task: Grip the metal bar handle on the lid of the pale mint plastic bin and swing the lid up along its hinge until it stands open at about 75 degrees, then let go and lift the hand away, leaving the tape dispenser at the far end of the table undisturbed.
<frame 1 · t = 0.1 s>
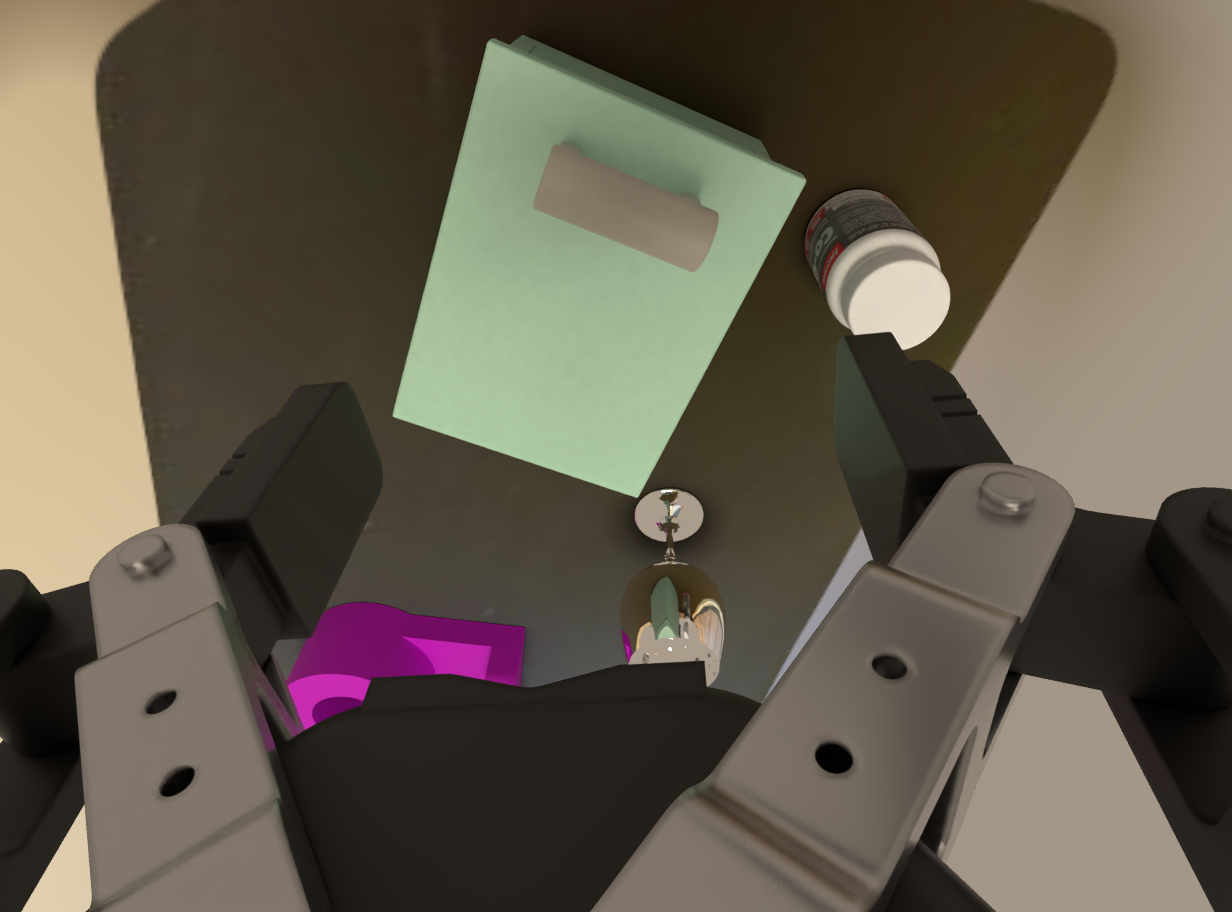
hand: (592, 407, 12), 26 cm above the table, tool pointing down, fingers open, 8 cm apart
pill bottle: (850, 234, 37), on the table
tape dispenser: (418, 650, 56), on the table
bin lid: (572, 333, 27), point 11 cm above the table, hinge at 0.0°
wineglass: (668, 513, 48), on the table
bin: (589, 238, 37), on the table
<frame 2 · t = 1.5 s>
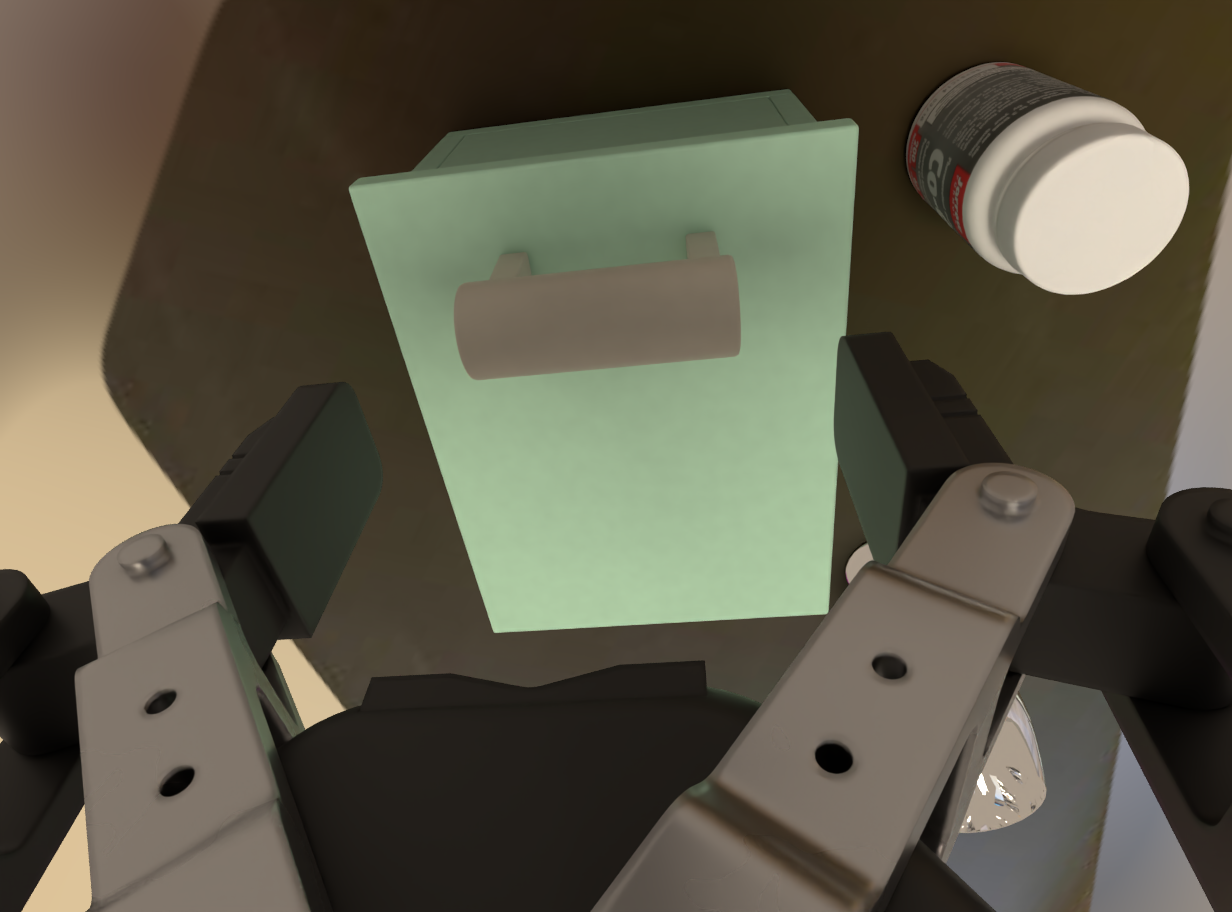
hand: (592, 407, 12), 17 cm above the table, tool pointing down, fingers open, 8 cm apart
pill bottle: (973, 137, 25), on the table
bin lid: (631, 480, 19), point 12 cm above the table, hinge at 0.0°
wineglass: (889, 564, 37), on the table
bin: (637, 310, 29), on the table
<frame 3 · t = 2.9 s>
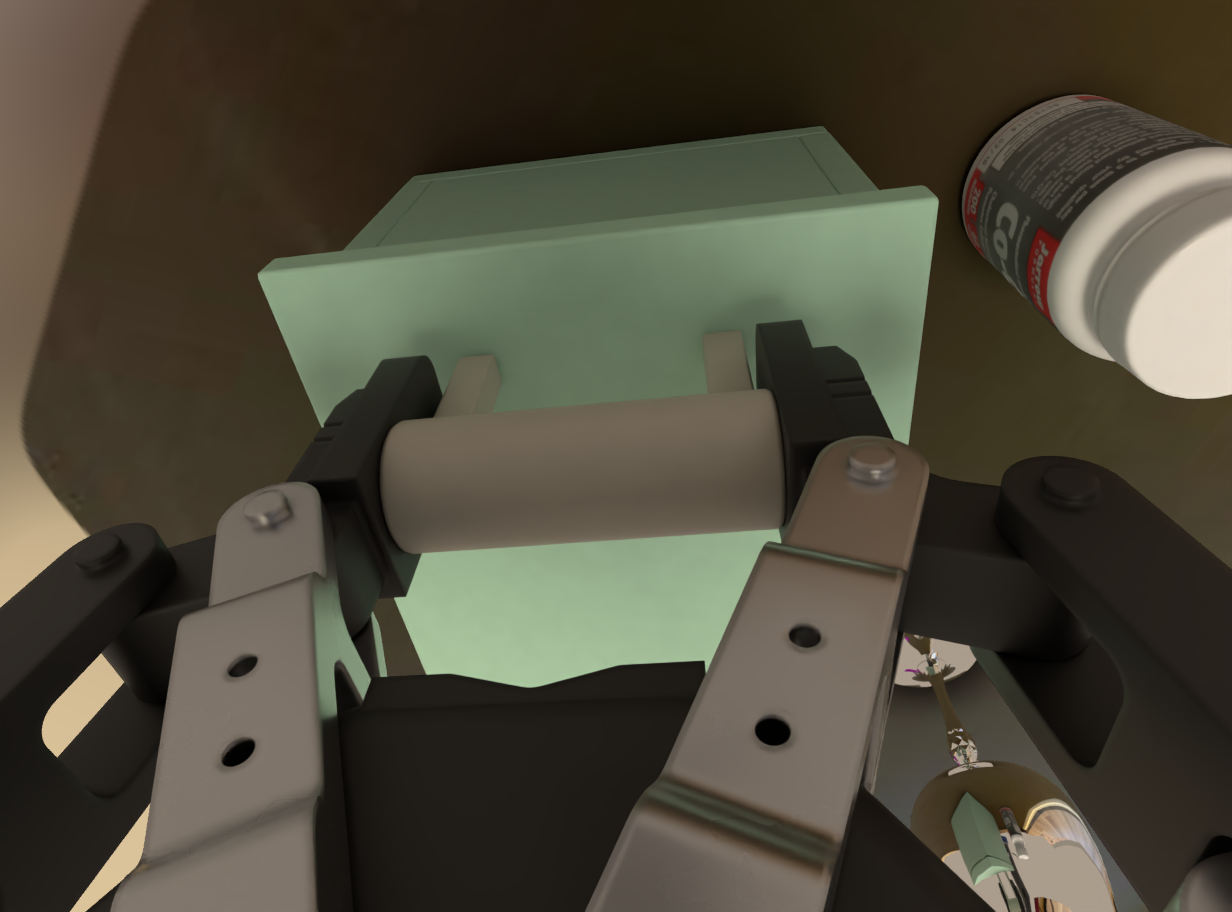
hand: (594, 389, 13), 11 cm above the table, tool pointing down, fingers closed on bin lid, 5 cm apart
pill bottle: (1043, 182, 21), on the table
bin lid: (630, 635, 15), point 11 cm above the table, hinge at 0.0°, touching gripper
wineglass: (924, 649, 32), on the table
bin: (639, 377, 25), on the table
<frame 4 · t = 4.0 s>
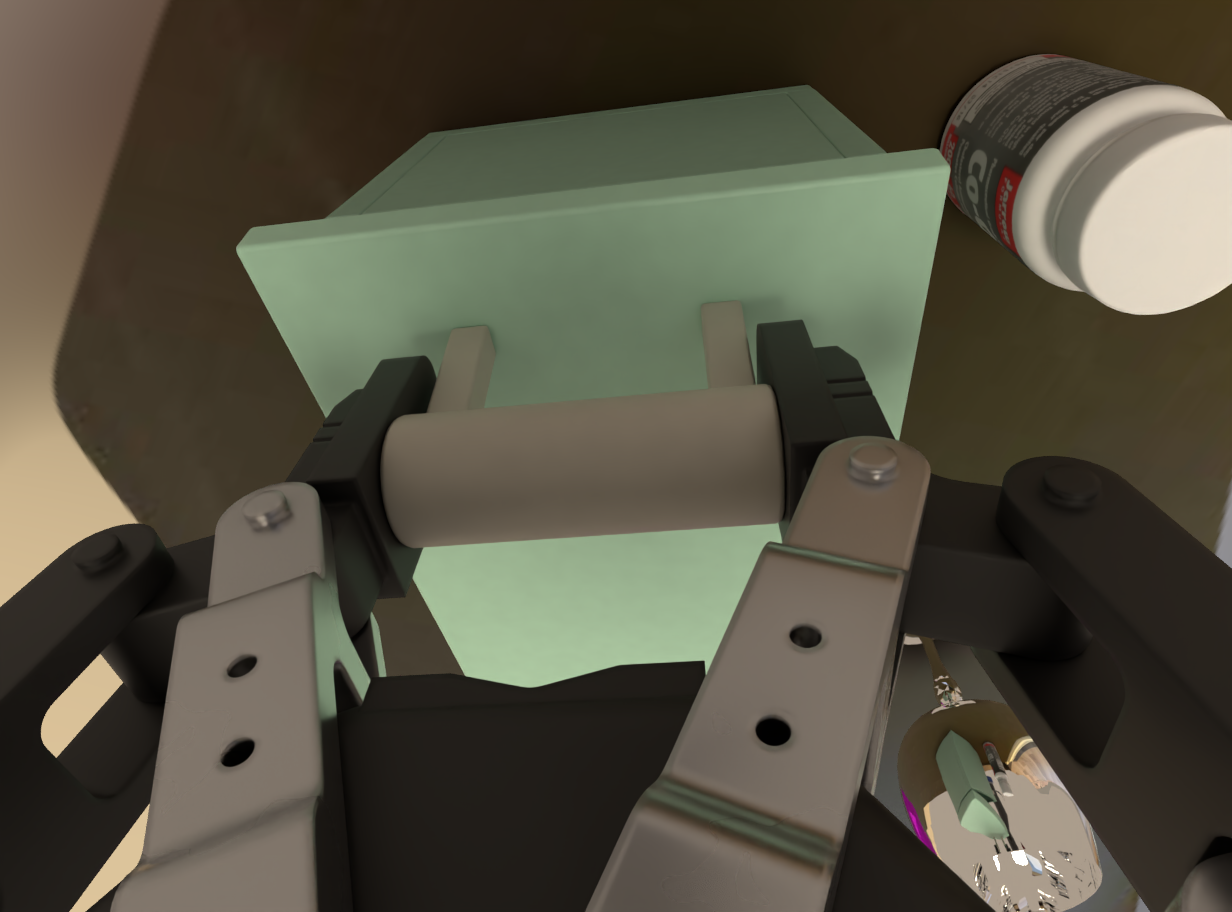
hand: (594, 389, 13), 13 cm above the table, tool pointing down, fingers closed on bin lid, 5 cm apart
pill bottle: (1014, 139, 22), on the table
bin lid: (629, 590, 16), point 13 cm above the table, hinge at 10.3°, touching gripper
wineglass: (913, 606, 34), on the table
bin: (639, 330, 26), on the table
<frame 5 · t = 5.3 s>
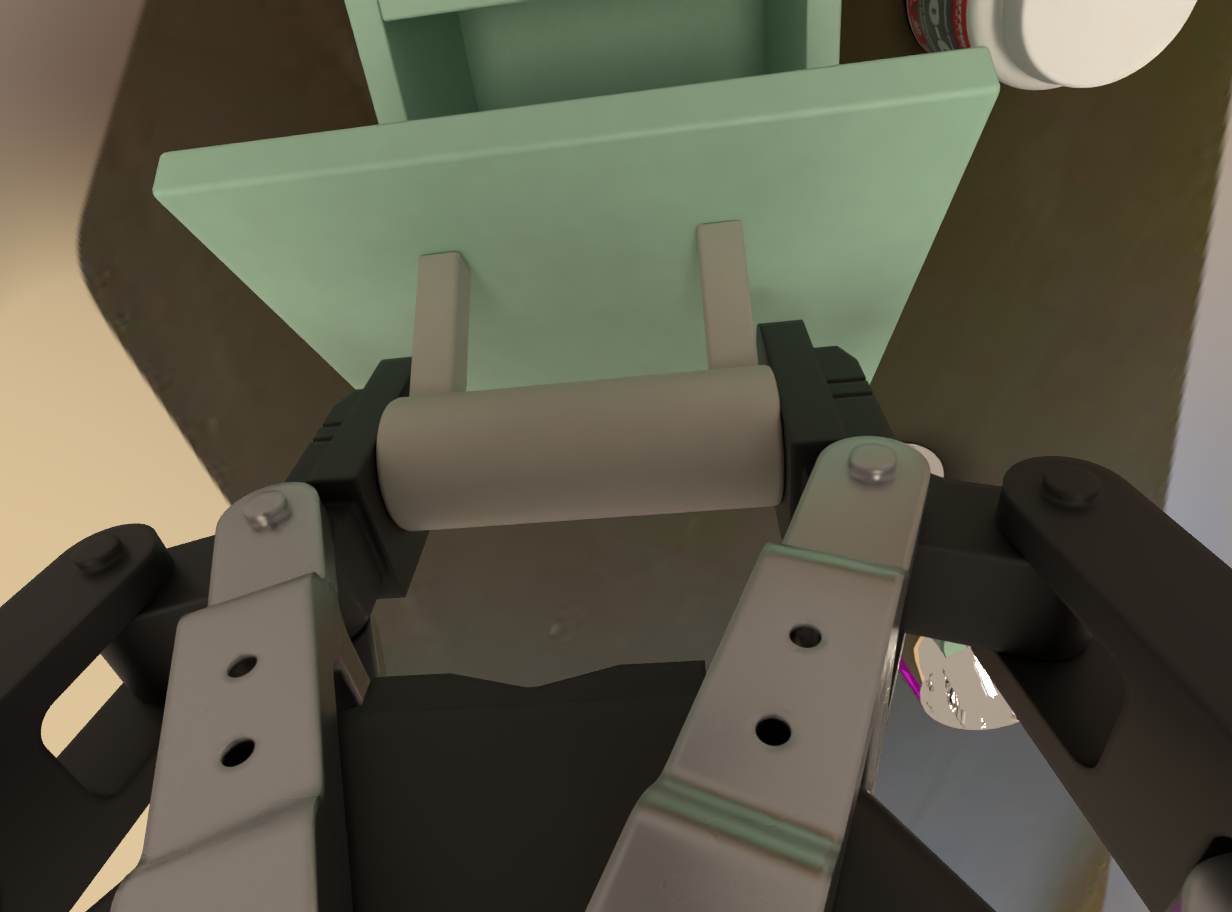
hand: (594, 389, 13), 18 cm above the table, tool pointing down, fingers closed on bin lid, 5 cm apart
bin lid: (622, 468, 16), point 16 cm above the table, hinge at 35.6°, touching gripper
wineglass: (893, 479, 35), on the table
bin: (630, 184, 28), on the table
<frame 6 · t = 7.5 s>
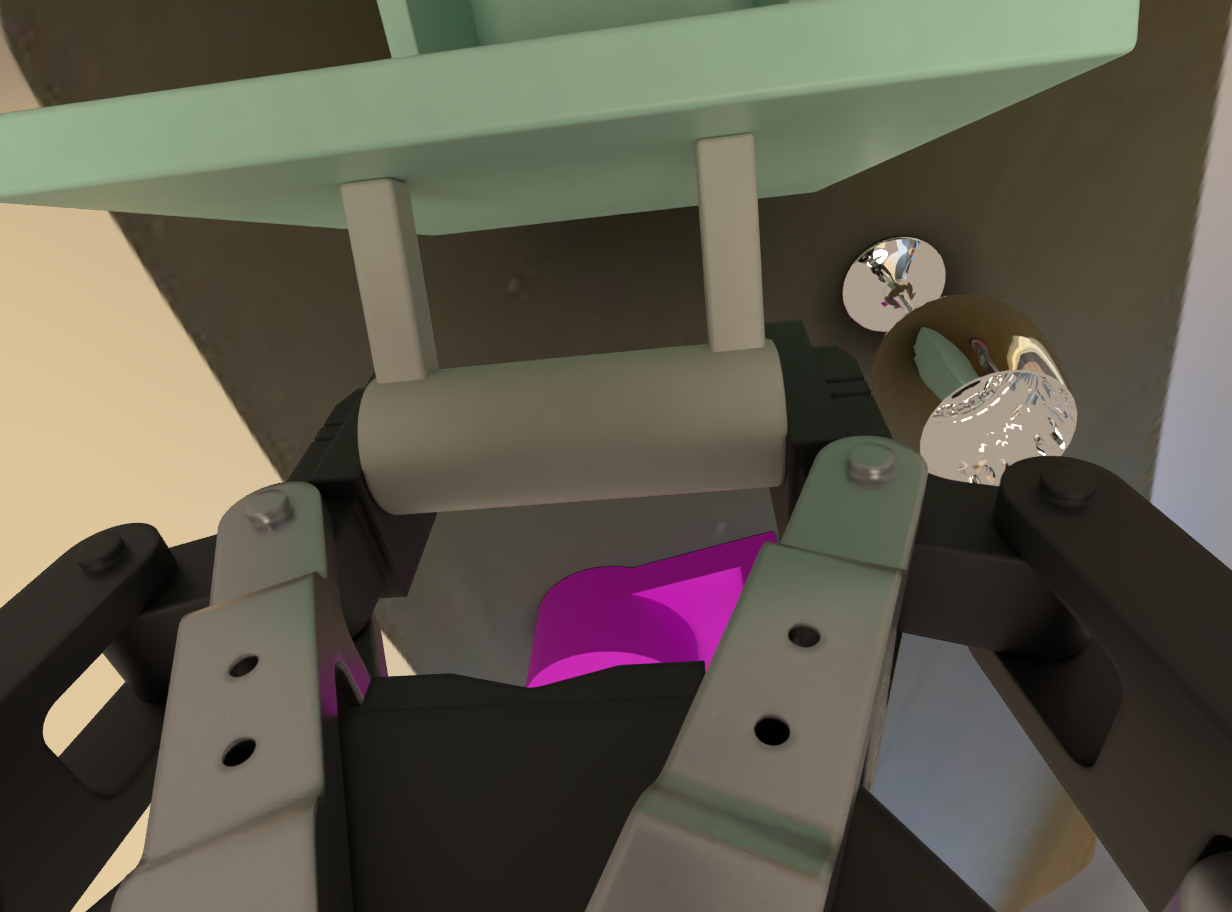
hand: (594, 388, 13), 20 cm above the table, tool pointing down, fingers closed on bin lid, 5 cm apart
tape dispenser: (662, 610, 46), on the table
bin lid: (601, 289, 15), point 17 cm above the table, hinge at 69.9°, touching gripper
wineglass: (892, 283, 33), on the table
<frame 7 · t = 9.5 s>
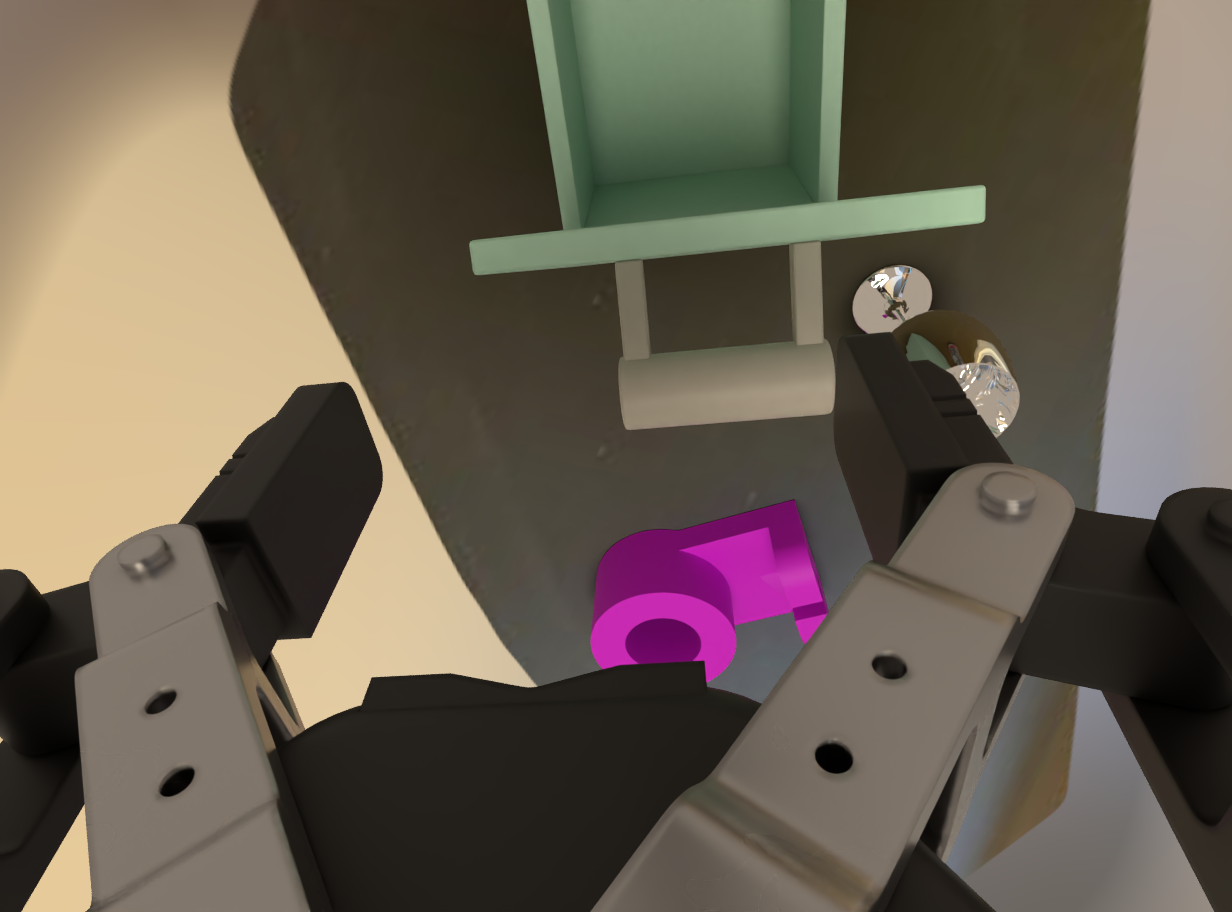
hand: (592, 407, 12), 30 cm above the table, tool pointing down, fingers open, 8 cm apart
tape dispenser: (701, 568, 55), on the table
bin lid: (711, 309, 25), point 17 cm above the table, hinge at 70.4°
wineglass: (890, 300, 43), on the table
bin: (681, 29, 35), on the table
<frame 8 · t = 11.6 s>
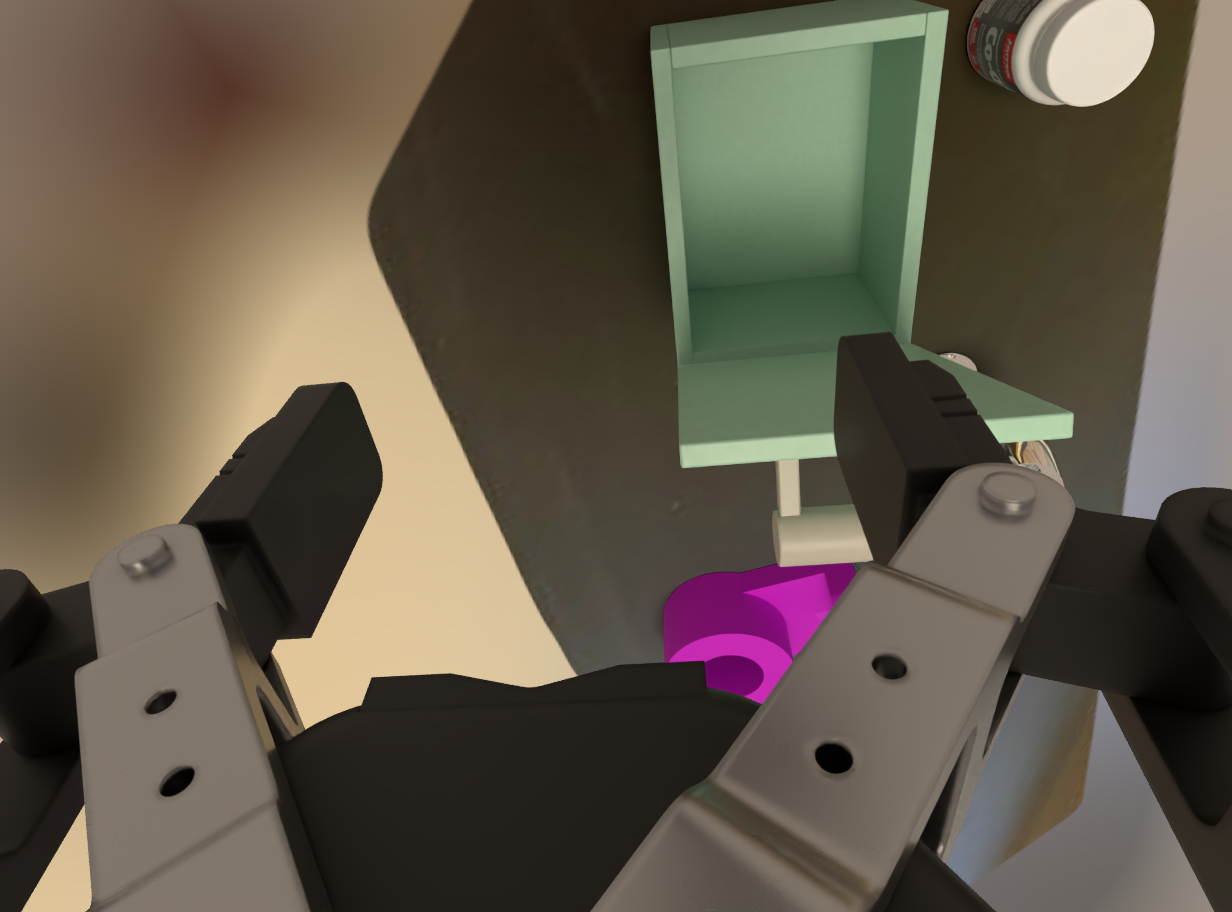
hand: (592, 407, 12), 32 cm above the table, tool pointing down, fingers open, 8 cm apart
pill bottle: (1013, 28, 37), on the table
tape dispenser: (758, 604, 61), on the table
bin lid: (824, 445, 30), point 17 cm above the table, hinge at 70.4°
wineglass: (940, 381, 48), on the table
bin: (768, 163, 41), on the table
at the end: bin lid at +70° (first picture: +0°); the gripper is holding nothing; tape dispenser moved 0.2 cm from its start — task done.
